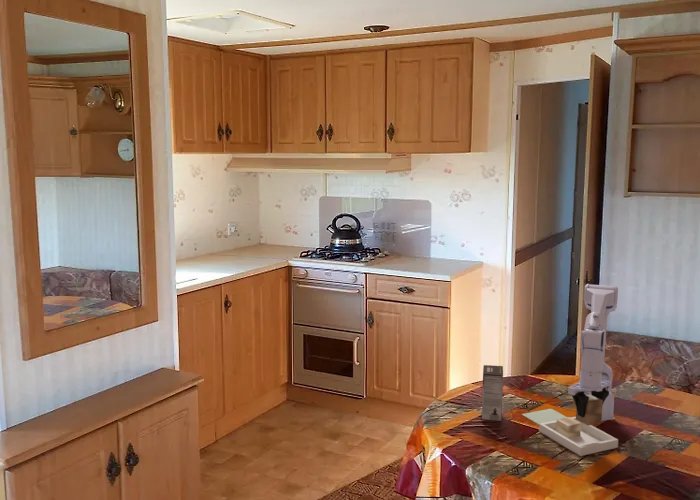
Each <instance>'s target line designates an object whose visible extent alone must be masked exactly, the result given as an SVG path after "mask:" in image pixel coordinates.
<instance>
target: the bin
mask: <svg viewBox="0 0 700 500" xmlns="http://www.w3.org/2000/svg"><path fill="white" fill-rule="evenodd" d="M571 418H572V419H574V420H576V416H572V417H571ZM576 421H578V420H576ZM578 422H580V421H578ZM580 423H581V433H580V436H576V437H572V438H566V437H565V436H563V435H561V434H560V433H558V432H556V425H557V420H556V421H551V422H546V423H541V424H539V425H538V427H539V429H538V432H539V433H542V434H543V435H545V436H546V437H548V438H549V439H551V440H553V441H554V442H556V443H558V444H559V445H561V446H562V447H564V448H566V449H568V450H569V451H571V452H572V453H574V454H576V455H577V456H579V457H583V456H586V455H591V454H594V453H601V452H603V451H608V450H613V449H617V448H619V438H616V437H614V436H612V435H610V434H609V433H606V432H605V431H603V430H601V429H600V428H597V427H596V426H594V425H586V424H584V423H582V422H580Z"/></svg>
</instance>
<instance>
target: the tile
mask: <svg viewBox="0 0 700 500" xmlns="http://www.w3.org/2000/svg"><path fill="white" fill-rule="evenodd" d="M521 416H523V417H525V418H527V419H528V420H530V421H531V422H533V423H535V424H537V425H538V426H539V424H541V423H546V422H551V421H556V420H557V419H562V418H567V417H568V416H565V415H564V414H562V413H560V412H558V411H557V410H554V409H553V408H547V409H543V410H535V411H531V412H526V413H521Z"/></svg>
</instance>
